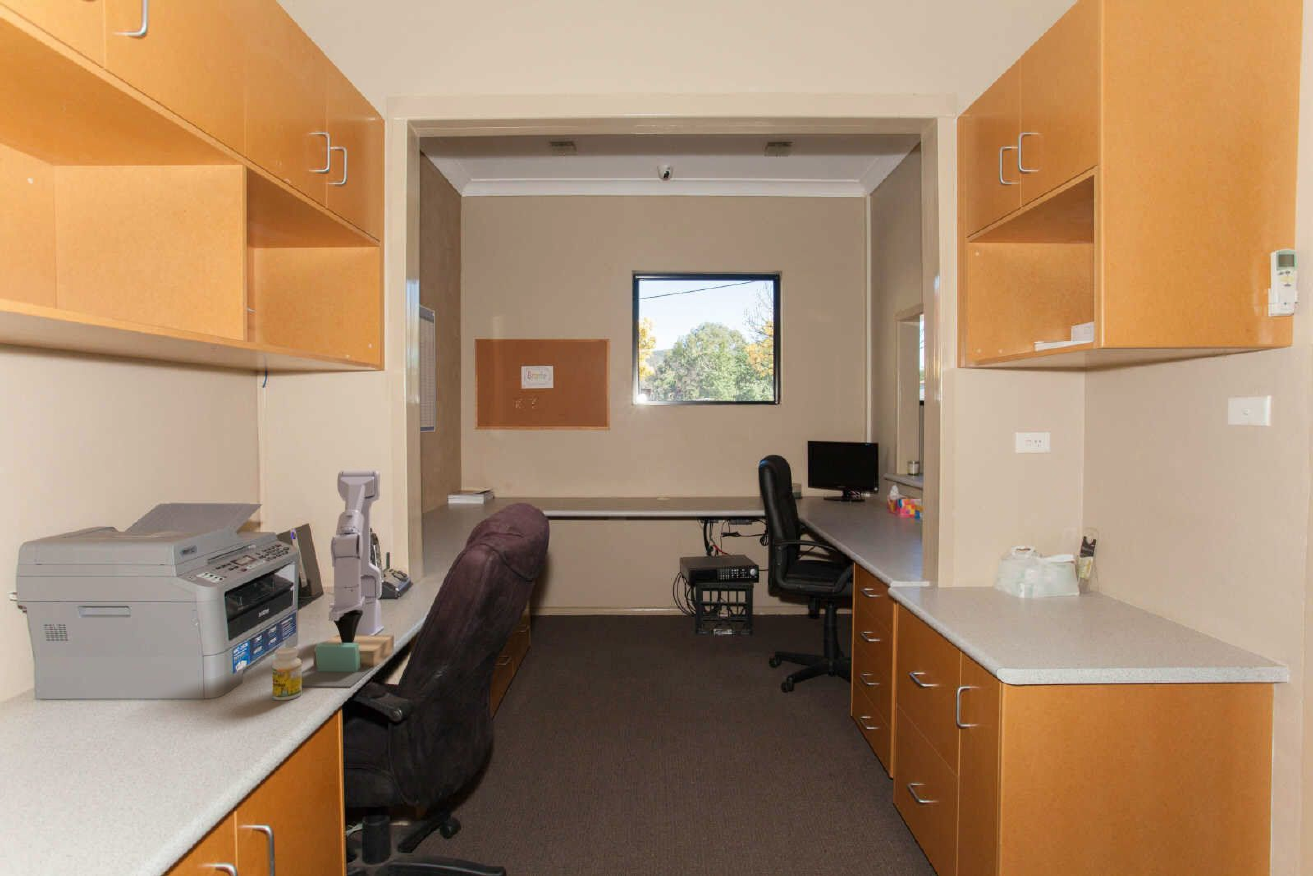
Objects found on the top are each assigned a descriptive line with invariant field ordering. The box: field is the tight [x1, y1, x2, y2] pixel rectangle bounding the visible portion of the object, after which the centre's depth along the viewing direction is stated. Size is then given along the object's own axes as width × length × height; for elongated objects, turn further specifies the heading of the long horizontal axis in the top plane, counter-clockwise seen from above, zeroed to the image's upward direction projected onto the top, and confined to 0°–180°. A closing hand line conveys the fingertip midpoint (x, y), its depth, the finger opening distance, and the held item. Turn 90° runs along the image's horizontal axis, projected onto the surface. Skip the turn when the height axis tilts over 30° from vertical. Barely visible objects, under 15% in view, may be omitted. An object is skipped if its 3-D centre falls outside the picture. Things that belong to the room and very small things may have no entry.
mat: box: [302, 665, 375, 689], centre depth 162 cm, size 12×14×1 cm
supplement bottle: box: [271, 647, 303, 701], centre depth 151 cm, size 5×5×10 cm
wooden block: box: [313, 634, 395, 669], centre depth 174 cm, size 12×14×4 cm
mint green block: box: [314, 642, 361, 672], centre depth 165 cm, size 6×9×2 cm
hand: (347, 643), depth 170 cm, fingers closed
